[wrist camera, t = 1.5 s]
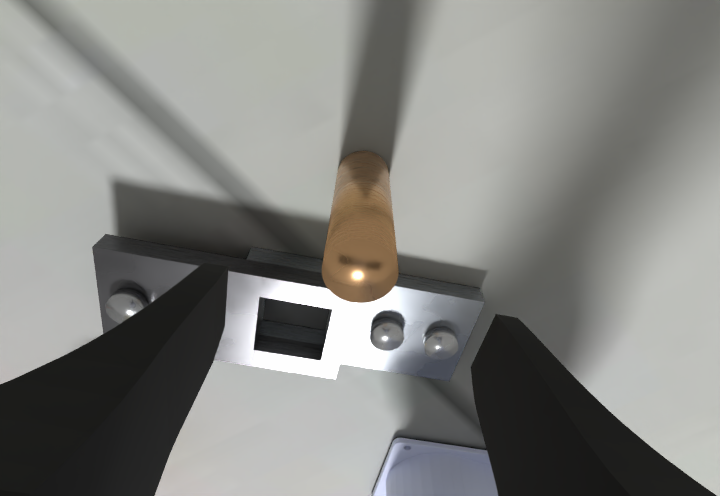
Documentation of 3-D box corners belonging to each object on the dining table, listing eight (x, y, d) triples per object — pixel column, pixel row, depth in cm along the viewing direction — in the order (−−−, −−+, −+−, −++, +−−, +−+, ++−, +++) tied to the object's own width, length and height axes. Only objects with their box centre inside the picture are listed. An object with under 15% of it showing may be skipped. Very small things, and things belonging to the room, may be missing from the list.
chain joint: (480, 288, 24) (493, 325, 21) (446, 365, 27) (454, 406, 24) (118, 222, 22) (85, 253, 20) (126, 313, 25) (98, 350, 23)
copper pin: (394, 156, 20) (407, 247, 13) (382, 203, 21) (388, 308, 14) (342, 146, 20) (328, 232, 13) (333, 193, 21) (316, 295, 14)
